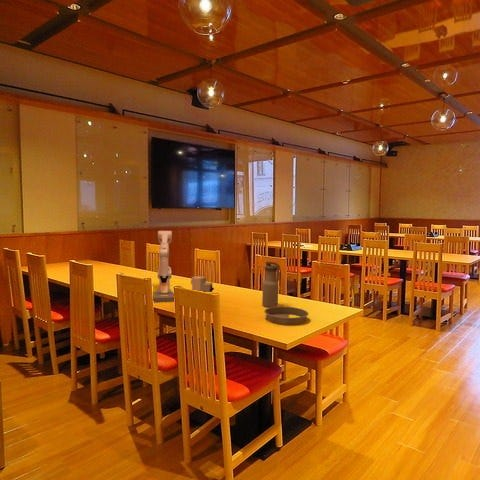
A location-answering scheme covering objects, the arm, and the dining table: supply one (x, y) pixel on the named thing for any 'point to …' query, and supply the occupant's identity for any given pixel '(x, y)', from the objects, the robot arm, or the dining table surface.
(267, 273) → the water bottle
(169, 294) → the panel
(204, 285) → the circuit breaker
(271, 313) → the cake pan
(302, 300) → the dining table surface
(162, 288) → the toggle lever
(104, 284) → the dining table surface
